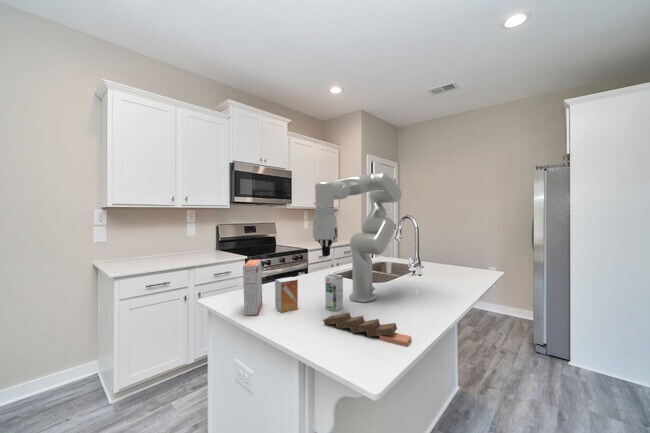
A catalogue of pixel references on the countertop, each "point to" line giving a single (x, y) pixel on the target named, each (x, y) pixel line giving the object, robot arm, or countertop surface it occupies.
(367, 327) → the domino
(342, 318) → the domino
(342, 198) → the robot arm
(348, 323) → the domino
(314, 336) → the countertop surface
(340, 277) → the syrup box
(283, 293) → the small box
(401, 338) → the domino
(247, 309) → the cracker box
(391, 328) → the domino
